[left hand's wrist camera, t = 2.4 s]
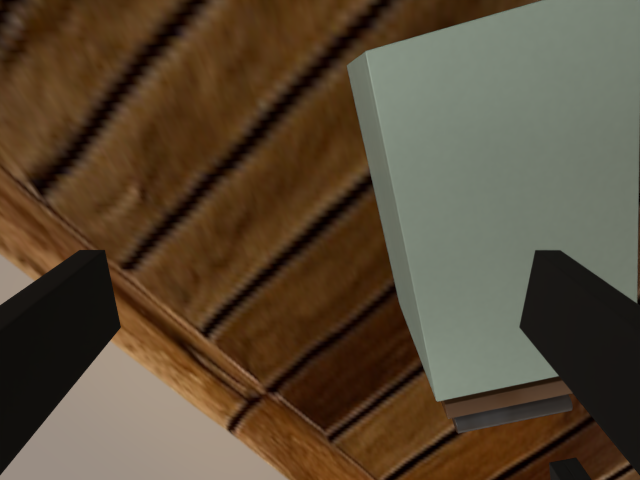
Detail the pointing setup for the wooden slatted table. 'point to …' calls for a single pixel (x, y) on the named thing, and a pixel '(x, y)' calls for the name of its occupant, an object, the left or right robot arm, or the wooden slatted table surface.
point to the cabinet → (502, 173)
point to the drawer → (508, 404)
